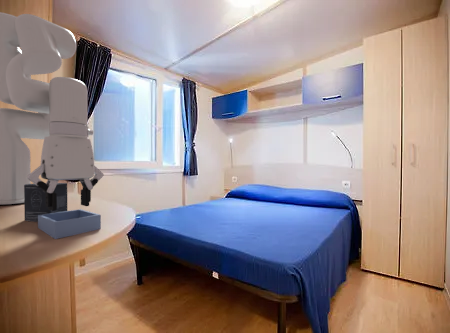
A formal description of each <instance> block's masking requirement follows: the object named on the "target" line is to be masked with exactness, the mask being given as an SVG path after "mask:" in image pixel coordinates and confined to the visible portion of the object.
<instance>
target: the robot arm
mask: <svg viewBox="0 0 450 333" xmlns="http://www.w3.org/2000/svg"><path fill="white" fill-rule="evenodd" d="M76 51H77V41H76V38H75V36H74V34H73V33H72V32H71V31H70V30H69V29H67V28H65V27H63V26H61V25H58V24H56V23H54V22H52V21H50V20H48V19H45V18H43V17H40V16H38V15H34V14H31V13H22V14H19V15H18V16H15V15H13V14H9V13H5V12H1V11H0V102H1V103H3V104H7V105H12V106H15V107H17V108H18V109H16V108H8V107H7V108H6V107H0V205H3V206H4V205H12V204H13V205H14V204H15V205H16V204H24V185H25V184H35V185H36V186H38V187H39V188H40V189H42V190H43V191H44V192H46V207H48V209H49V210H51V211H55V210H57V194H56V193H54V189H55V187H56V185H57V183H59V181H71V180H72V181H74V180H79V182H80V184H81V186H82V188H81V190H80V205H81V206H83V207H89V206H90V203H91V201H92V199H91V198H92V192H91V191H92V190H93V188H94V186H96V185H97V184H98V182H99V181H100V180H101V179H102V178H103V177H104V173H103V172H102V171H101V170H100V169H99V168H98V167H97V166H96V165H95V158H94V152H93V147H92V146H93V144H92V142H91V139H90V138H89V136H93V135H94V131H93V130H92V129H90V128H89V126H88V87H87V85H86V84H85V83H84V82H83V81H81V80H78V79H76V78H72V77H66V76H55V77H53V78H51V79H50V81H49V82H45V81H41V80H37V79H33V78H32V76H33V75H34V76H35V75H46V74H53V73H55V72H57V71H58V70H60V68H61V67H62V63H63V60H65V59H67V60H68V59H71V58H72V57H74V55H75V53H76ZM62 59H63V60H62ZM23 139H29V140H31V139H33V140H43V143H42V149H41V156H40V165H39V166H38V167H36V169H34V170H33V171H32V172H31V150H30V148H29V146H28V145H27V144H26V143H25V141H24V140H23ZM40 177H41V178H42V179H43V180H47V181H46V182H45V181H43V180H41V179H40Z"/></svg>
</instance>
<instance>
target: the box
mask: <svg viewBox="0 0 450 333" xmlns="http://www.w3.org/2000/svg"><path fill="white" fill-rule="evenodd" d="M54 193H56V194H57V210H55V211H51V210H49V209H48V207H46V192H44V191H43V190H42V189H40V188H39V187H38V186H36V185H35V184H34V183H31V184H25V185H24V203H23V205H24V208H23V209H24V221H25V222H35V223H38V215H43V214H50V213H57V212H64V211H68V183H67V182H58V183H57V185H56V187H55V189H54Z"/></svg>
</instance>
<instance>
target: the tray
mask: <svg viewBox="0 0 450 333" xmlns="http://www.w3.org/2000/svg"><path fill="white" fill-rule="evenodd" d="M101 215H102V214H100V213H96V212H93V211H92V212H91V211H88V210H85V209H82V208H79V209H74V210H73V209H72V210H71V209H70V210H67V211H64V212H57V213H50V214H43V215H38V222H37V228H38V229H39V230H40V231H42V232H44V233H45V234H47V235H48V236H50V237H51V238H52V239H54V240H58V239H62V238H66V237H71V236H76V235H80V234H84V233H88V232H94V231H96V230H101V228H102V226H101V224H102V221H101V220H102V219H101Z"/></svg>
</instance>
